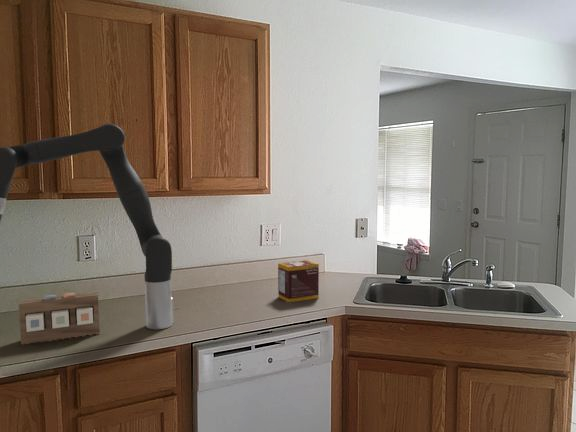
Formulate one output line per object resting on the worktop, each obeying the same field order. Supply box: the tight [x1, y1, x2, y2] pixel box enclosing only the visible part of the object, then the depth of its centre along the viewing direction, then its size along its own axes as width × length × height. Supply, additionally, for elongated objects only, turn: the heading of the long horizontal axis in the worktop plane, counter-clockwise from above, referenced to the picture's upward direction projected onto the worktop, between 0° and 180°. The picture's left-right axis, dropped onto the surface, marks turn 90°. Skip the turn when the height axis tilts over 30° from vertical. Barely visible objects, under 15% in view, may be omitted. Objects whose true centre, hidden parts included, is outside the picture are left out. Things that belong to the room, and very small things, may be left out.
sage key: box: [52, 309, 69, 328], centre depth 156 cm, size 5×5×5 cm
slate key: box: [26, 312, 45, 332], centre depth 153 cm, size 5×5×5 cm
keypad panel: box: [18, 291, 101, 345], centre depth 159 cm, size 6×24×15 cm, turn 115°
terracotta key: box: [76, 306, 93, 325], centre depth 159 cm, size 5×5×5 cm
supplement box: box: [277, 259, 320, 303], centre depth 206 cm, size 10×15×16 cm
